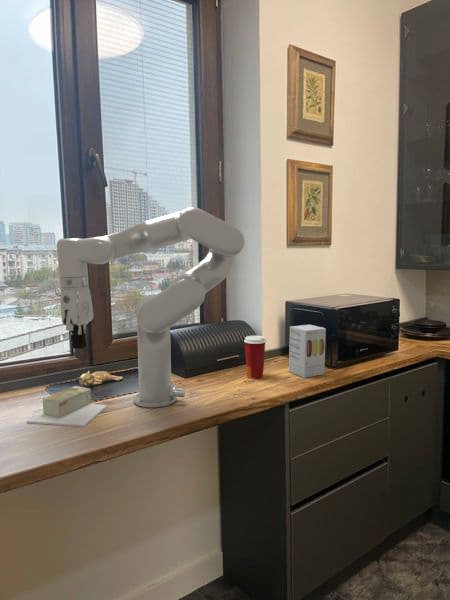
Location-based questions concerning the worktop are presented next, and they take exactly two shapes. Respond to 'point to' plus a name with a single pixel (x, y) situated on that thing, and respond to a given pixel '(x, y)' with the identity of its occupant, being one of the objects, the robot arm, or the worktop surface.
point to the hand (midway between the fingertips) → (79, 347)
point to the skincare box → (66, 401)
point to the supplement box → (307, 350)
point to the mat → (70, 416)
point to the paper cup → (255, 356)
